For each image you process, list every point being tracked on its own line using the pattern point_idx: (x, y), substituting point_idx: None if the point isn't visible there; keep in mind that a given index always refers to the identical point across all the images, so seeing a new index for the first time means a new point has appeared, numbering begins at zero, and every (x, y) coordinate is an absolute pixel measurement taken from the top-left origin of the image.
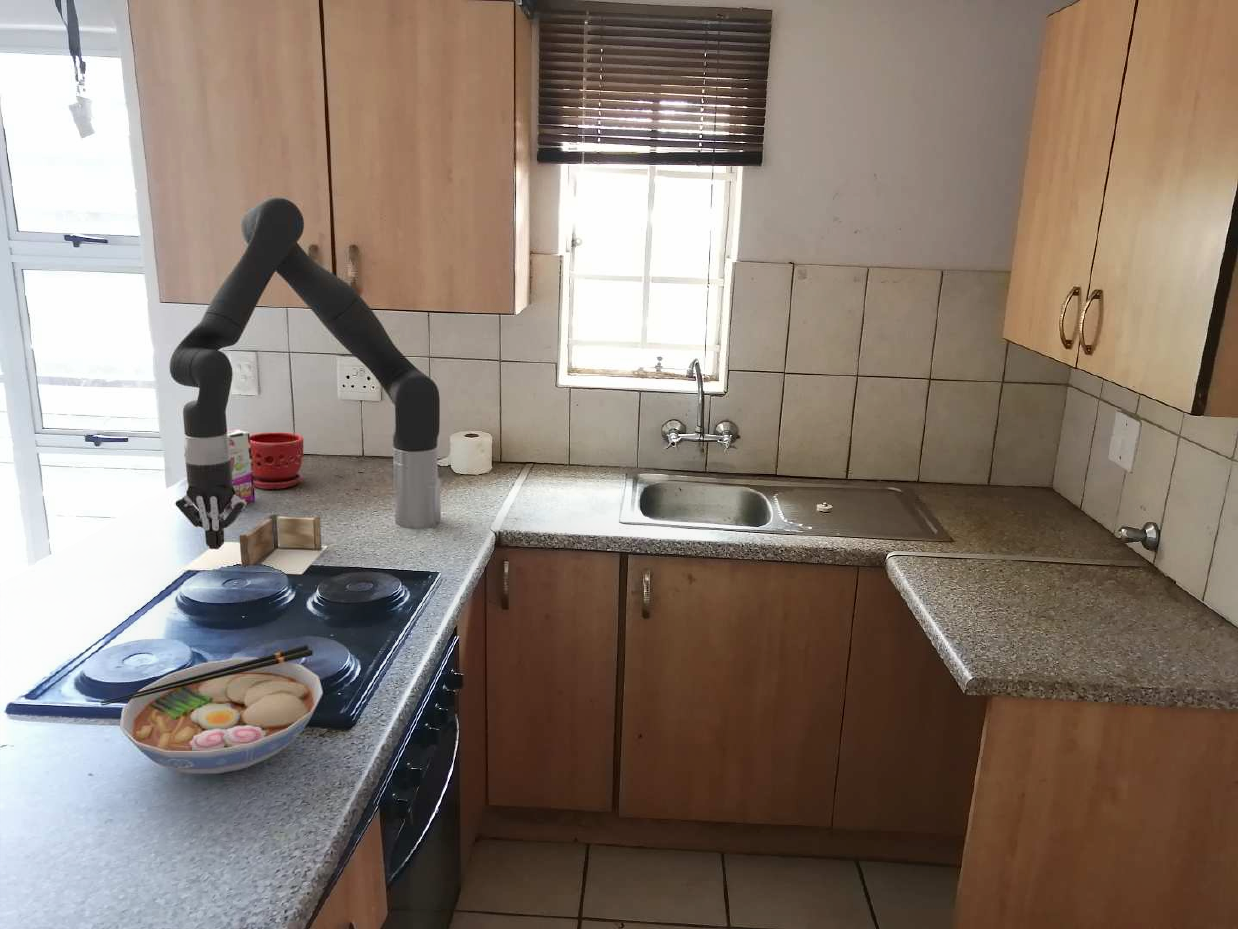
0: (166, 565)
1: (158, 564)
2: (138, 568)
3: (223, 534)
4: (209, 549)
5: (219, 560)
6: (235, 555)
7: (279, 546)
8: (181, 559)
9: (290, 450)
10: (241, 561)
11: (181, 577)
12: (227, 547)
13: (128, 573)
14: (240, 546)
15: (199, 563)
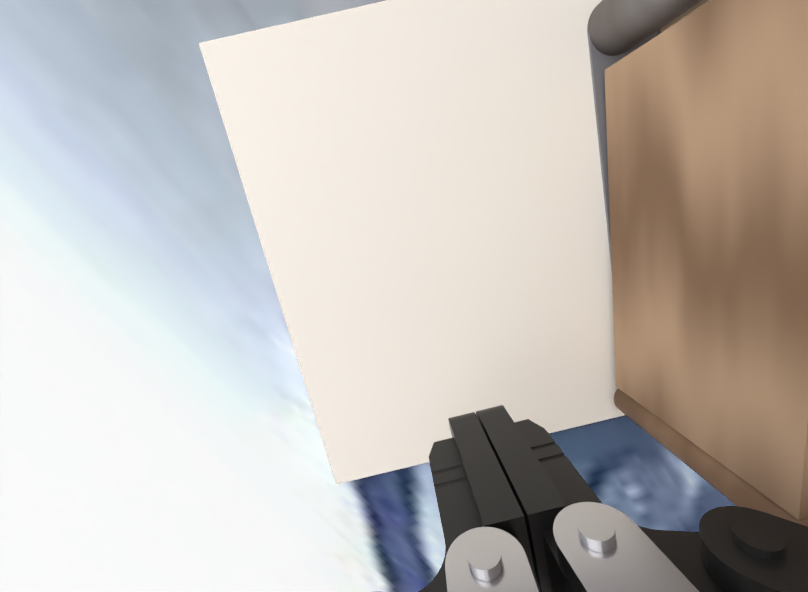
0: (203, 441)
1: (155, 444)
2: (111, 511)
3: (576, 475)
4: (254, 198)
5: (427, 329)
6: (463, 234)
7: (666, 29)
8: (206, 352)
9: None
10: (648, 433)
11: (379, 525)
12: (333, 128)
13: (124, 567)
14: (733, 501)
15: (357, 397)
